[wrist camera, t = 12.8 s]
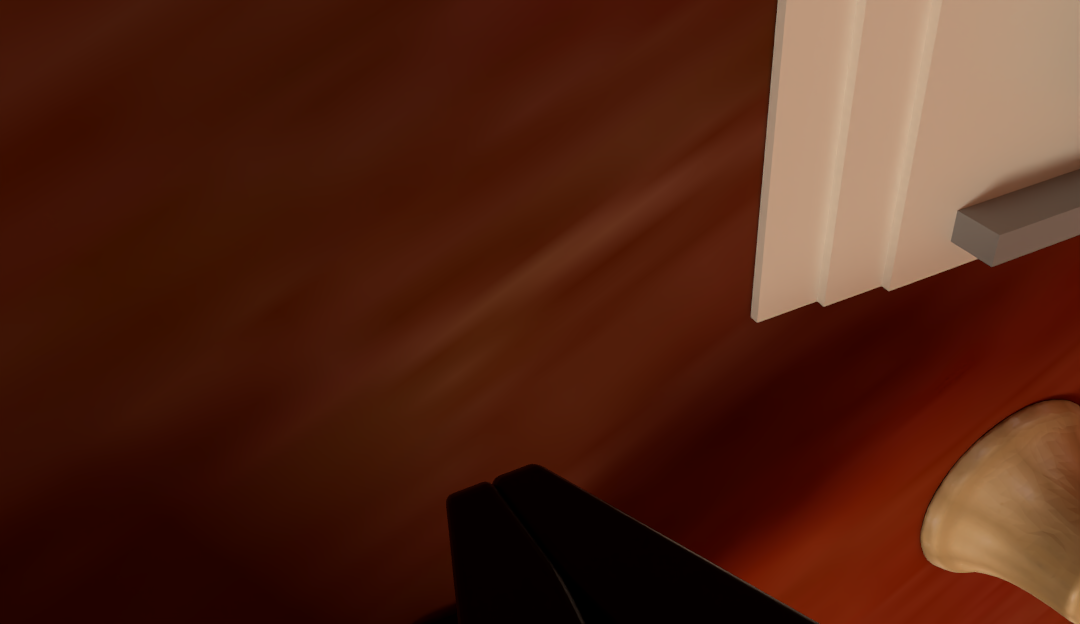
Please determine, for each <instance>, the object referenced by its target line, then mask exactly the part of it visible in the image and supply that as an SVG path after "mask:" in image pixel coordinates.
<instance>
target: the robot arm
mask: <svg viewBox="0 0 1080 624" xmlns="http://www.w3.org/2000/svg"><path fill="white" fill-rule="evenodd" d="M446 508H447V518H448V528H449V537H450V547H451V557H452V567H453V577H454V586H455V596H456V606H457V614H455V615H452V616H450V617H448V618H445V619H443V620H440V621H438V622H436V623H433V624H819V623H817V622H815V621H814V620H812V619H810V618H808V617H807V616H805V615H803V614H801V613H800V612H798V611H796V610H794V609H793V608H791V607H789V606H787V605H786V604H784V603H782V602H780V601H779V600H777V599H775V598H773V597H771V596H770V595H768V594H766V593H764V592H763V591H761V590H759V589H757V588H756V587H754V586H752V585H750V584H749V583H747V582H745V581H743V580H742V579H740V578H738V577H736V576H734V575H733V574H731V573H729V572H727V571H726V570H724V569H722V568H720V567H719V566H717V565H715V564H713V563H712V562H710V561H708V560H706V559H705V558H703V557H701V556H699V555H698V554H696V553H694V552H692V551H690V550H689V549H687V548H685V547H683V546H682V545H680V544H678V543H676V542H675V541H673V540H671V539H669V538H668V537H666V536H664V535H662V534H661V533H659V532H657V531H655V530H654V529H652V528H650V527H648V526H646V525H645V524H643V523H641V522H639V521H638V520H636V519H634V518H632V517H631V516H629V515H627V514H625V513H624V512H622V511H620V510H618V509H617V508H615V507H613V506H611V505H610V504H608V503H606V502H604V501H602V500H601V499H599V498H597V497H595V496H594V495H592V494H590V493H588V492H587V491H585V490H583V489H581V488H580V487H578V486H576V485H574V484H573V483H571V482H569V481H567V480H566V479H564V478H562V477H560V476H558V475H557V474H555V473H553V472H551V471H550V470H548V469H546V468H544V467H542V466H540V465H536V464H530V465H526V466H524V467H521V468H519V469H516V470H513V471H511V472H508V473H505V474H503V475H500V476H498V477H497V478H495V479H494V481H493V483H492V484H491V483H489V482H482V483H479V484H476V485H474V486H471V487H469V488H466V489H463V490H461V491H458V492H455V493H453V494H451V495H449V497H448V498H447V500H446Z"/></svg>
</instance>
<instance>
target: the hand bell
mask: <svg viewBox="0 0 1080 624" xmlns="http://www.w3.org/2000/svg"><path fill="white" fill-rule="evenodd" d="M921 546H922V549H923V553H924V555H925V557H926V558H927V559H928V561H930V562H931V563H932V564H933V565H935V566H937V567H940V568H943V569H945V570H948V571H953V572H960V573H967V572H979V573H985V574H989V575H992V576H996V577H999V578H1001V579H1004V580H1006V581H1008V582H1010V583H1012V584H1014V585H1016V586H1018V587H1020V588H1022V589H1023V590H1025V591H1027V592H1029V593H1030V594H1032V595H1033V596H1035V597H1036V598H1038V599H1039V600H1041V601H1042V602H1044V603H1045V604H1047V605H1048V606H1050V607H1051V608H1053V609H1054V610H1056V611H1057V612H1058V613H1060V614H1061V615H1062V616H1064V617H1065V618H1066V619H1068V620H1069V621H1071V622H1073V623H1075V624H1080V406H1079V405H1078V404H1076V403H1074V402H1071V401H1067V400H1050V401H1043V402H1040V403H1036V404H1033V405H1030V406H1027V407H1025V408H1023V409H1022V410H1020V411H1018V412H1016V413H1014V414H1012V415H1011V416H1009V417H1008V418H1006V419H1005V420H1003V421H1002V422H1000V423H999V424H998V425H996V426H995V427H993V428H992V429H991V430H990V431H988V432H987V433H986V434H985V435H984V436H983V437H981V438H980V439H979V440H977V441H976V442H975V443H974V444H973V445H972V446H971V447H970V448H969V449H968V451H967V452H966V453H964V454H963V455H962V456H961V458H960V459H959V460H958V461H957V463H956V464H955V465H954V466H953V468H952V469H951V470H950V471H949V473H948V474H947V476H946V477H945V479H944V480H943V482H942V483H941V485H940V486H939V488H938V490H937V491H936V493H935V495H934V496H933V499H932V501H931V503H930V505H929V507H928V509H927V512H926V514H925V517H924V520H923V525H922V529H921Z"/></svg>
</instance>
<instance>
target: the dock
mask: <svg viewBox="0 0 1080 624" xmlns="http://www.w3.org/2000/svg"><path fill="white" fill-rule="evenodd" d="M1077 235H1080V0H778V6H777V17H776V29H775V41H774V52H773V64H772V75H771V87H770V99H769V110H768V122H767V133H766V145H765V156H764V168H763V180H762V191H761V203H760V214H759V226H758V238H757V249H756V261H755V272H754V284H753V295H752V307H751V318H752V319H754V320H755V321H756V322H757V323H758V322H760V321H763V320H766V319H769V318H772V317H774V316H777V315H780V314H783V313H786V312H788V311H791V310H794V309H797V308H800V307H802V306H805V305H808V304H811V303H814V302H816V301H817V302H819V303H820V304H821V305H822V306H824V307H825V306H827V305H830V304H833V303H836V302H839V301H841V300H844V299H847V298H850V297H852V296H855V295H858V294H861V293H863V292H866V291H869V290H872V289H875V288H877V287H880V286H882V287H884V288H885V289H886V290H888V291H891V290H894V289H897V288H899V287H902V286H905V285H908V284H910V283H913V282H916V281H918V280H921V279H924V278H927V277H929V276H932V275H935V274H938V273H940V272H943V271H946V270H949V269H951V268H954V267H957V266H960V265H962V264H965V263H968V262H971V261H973V260H976V259H979V260H981V261H983V262H984V263H986V264H988V265H989V266H991V267H993V266H996V265H999V264H1001V263H1004V262H1007V261H1010V260H1012V259H1015V258H1018V257H1020V256H1023V255H1026V254H1029V253H1031V252H1034V251H1037V250H1039V249H1042V248H1045V247H1047V246H1050V245H1053V244H1056V243H1058V242H1061V241H1064V240H1066V239H1069V238H1072V237H1075V236H1077Z"/></svg>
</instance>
